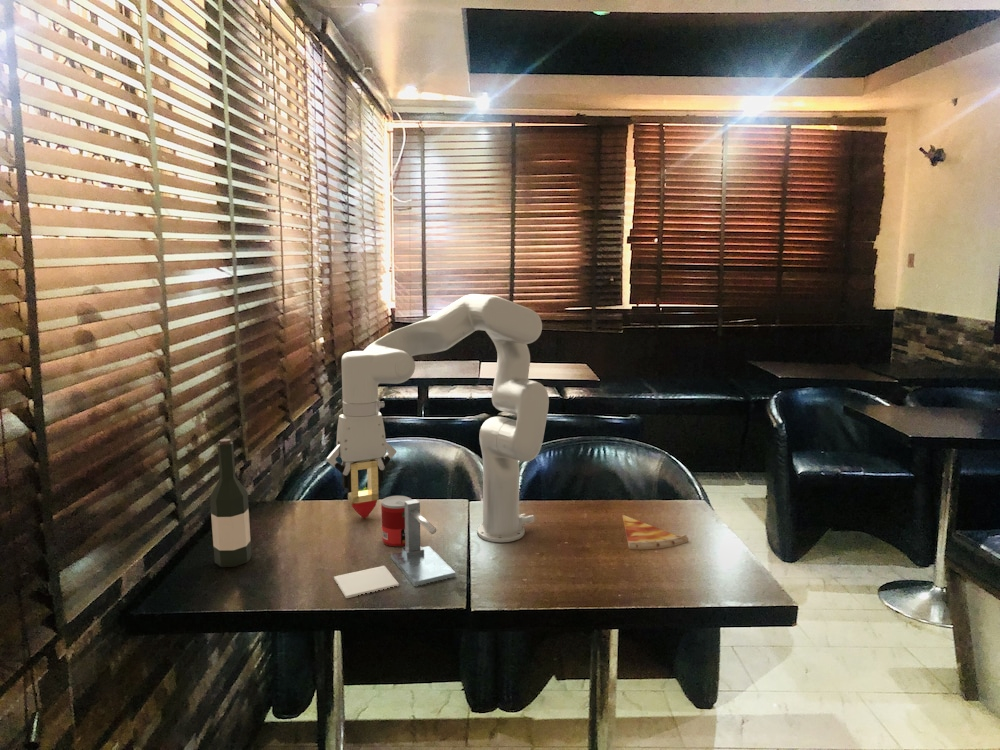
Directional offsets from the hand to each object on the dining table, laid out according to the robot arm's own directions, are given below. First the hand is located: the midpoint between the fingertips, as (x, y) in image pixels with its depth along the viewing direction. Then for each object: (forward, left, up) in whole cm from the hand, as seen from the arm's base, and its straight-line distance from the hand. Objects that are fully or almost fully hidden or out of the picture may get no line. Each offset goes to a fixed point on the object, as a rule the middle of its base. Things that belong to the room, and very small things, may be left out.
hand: (362, 487), depth 150 cm
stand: (-14, -1, -23) cm, 27 cm away
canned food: (-14, -18, -23) cm, 32 cm away
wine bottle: (+25, -26, -23) cm, 43 cm away
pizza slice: (-77, +9, -23) cm, 81 cm away
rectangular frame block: (0, 0, -3) cm, 3 cm away
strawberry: (-11, -37, -23) cm, 45 cm away
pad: (0, 0, -23) cm, 23 cm away
